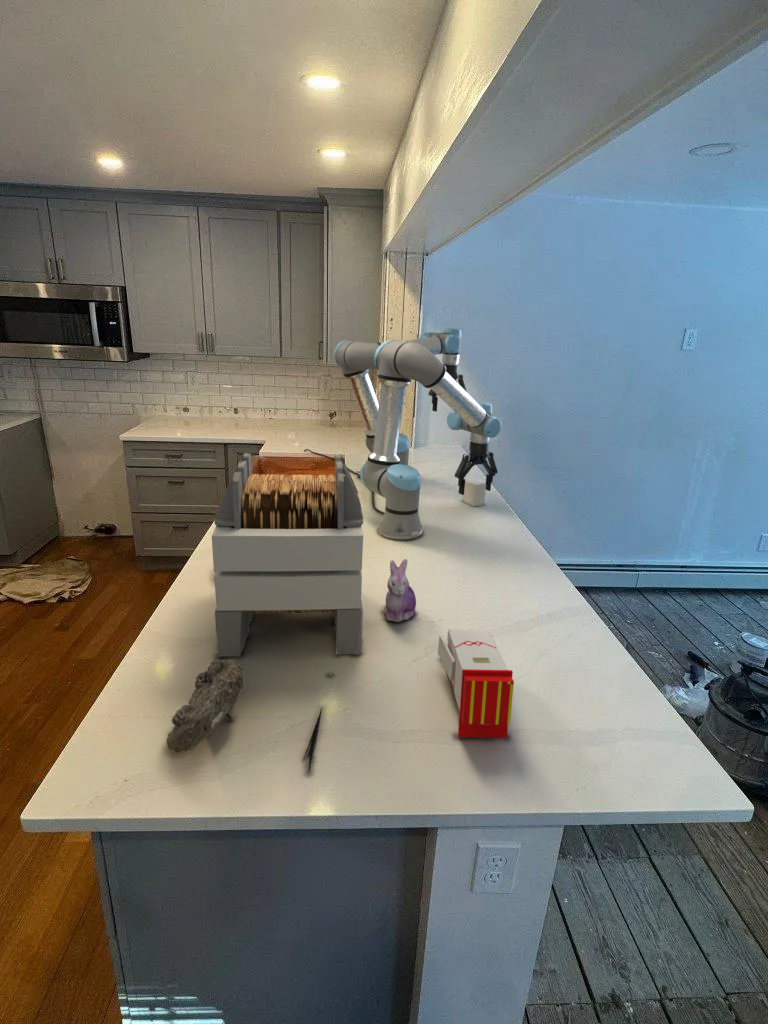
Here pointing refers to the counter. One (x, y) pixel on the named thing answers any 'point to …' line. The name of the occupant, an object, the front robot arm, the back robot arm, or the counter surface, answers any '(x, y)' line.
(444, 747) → the counter surface
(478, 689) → the toy
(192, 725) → the fossil
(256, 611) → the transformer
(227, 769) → the counter surface
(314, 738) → the dark thin pointed pieces
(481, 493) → the block
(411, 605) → the figurine
